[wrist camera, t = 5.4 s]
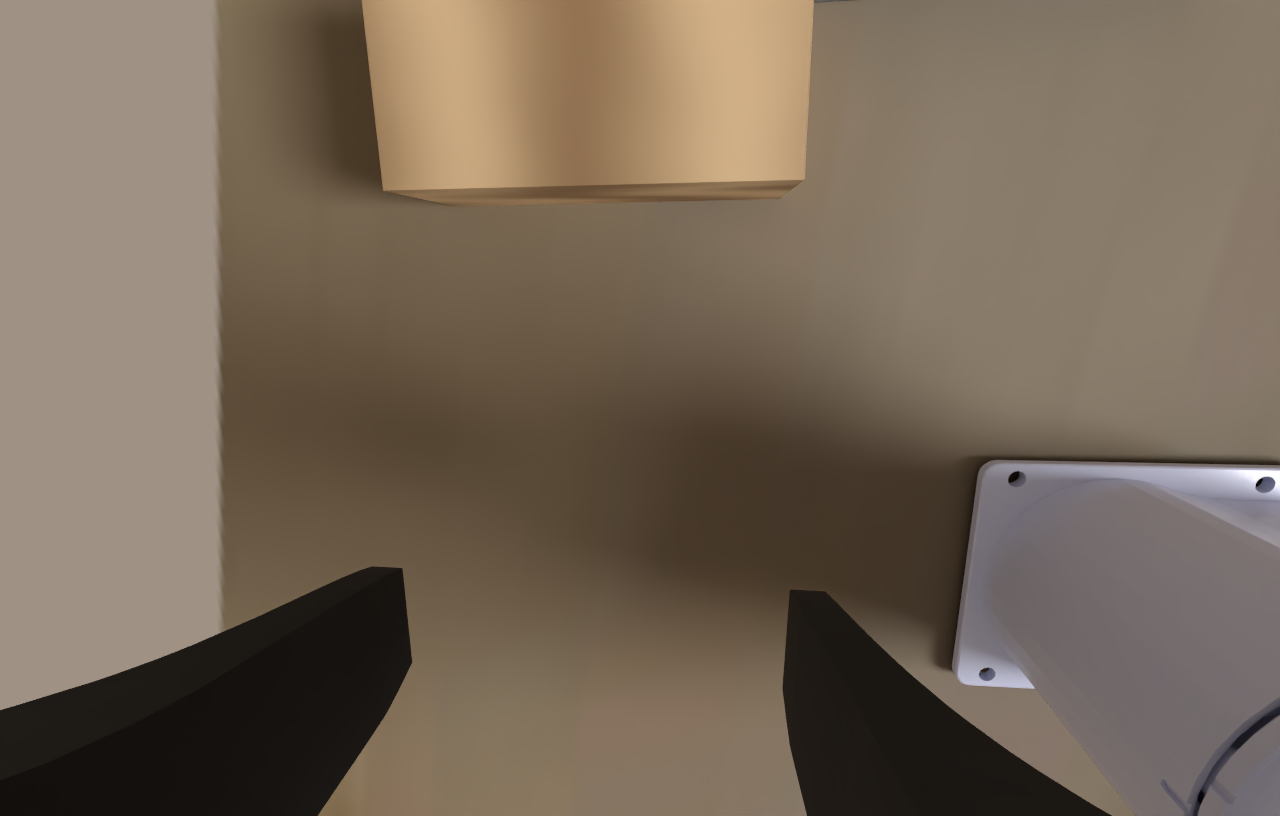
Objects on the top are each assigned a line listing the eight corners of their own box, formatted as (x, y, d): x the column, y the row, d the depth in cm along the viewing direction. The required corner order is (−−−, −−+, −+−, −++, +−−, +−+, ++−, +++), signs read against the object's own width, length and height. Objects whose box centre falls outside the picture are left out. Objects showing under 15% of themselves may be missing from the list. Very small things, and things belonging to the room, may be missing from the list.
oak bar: (786, 10, 16) (817, -80, 12) (778, 199, 18) (804, 179, 13) (441, 28, 17) (356, -49, 13) (456, 206, 19) (383, 190, 14)
